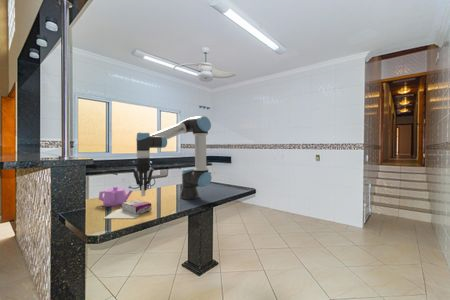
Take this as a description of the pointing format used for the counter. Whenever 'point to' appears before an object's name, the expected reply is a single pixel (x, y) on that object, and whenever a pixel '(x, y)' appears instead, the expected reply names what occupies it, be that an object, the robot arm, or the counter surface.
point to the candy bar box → (136, 206)
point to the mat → (121, 215)
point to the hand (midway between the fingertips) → (143, 195)
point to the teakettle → (114, 196)
